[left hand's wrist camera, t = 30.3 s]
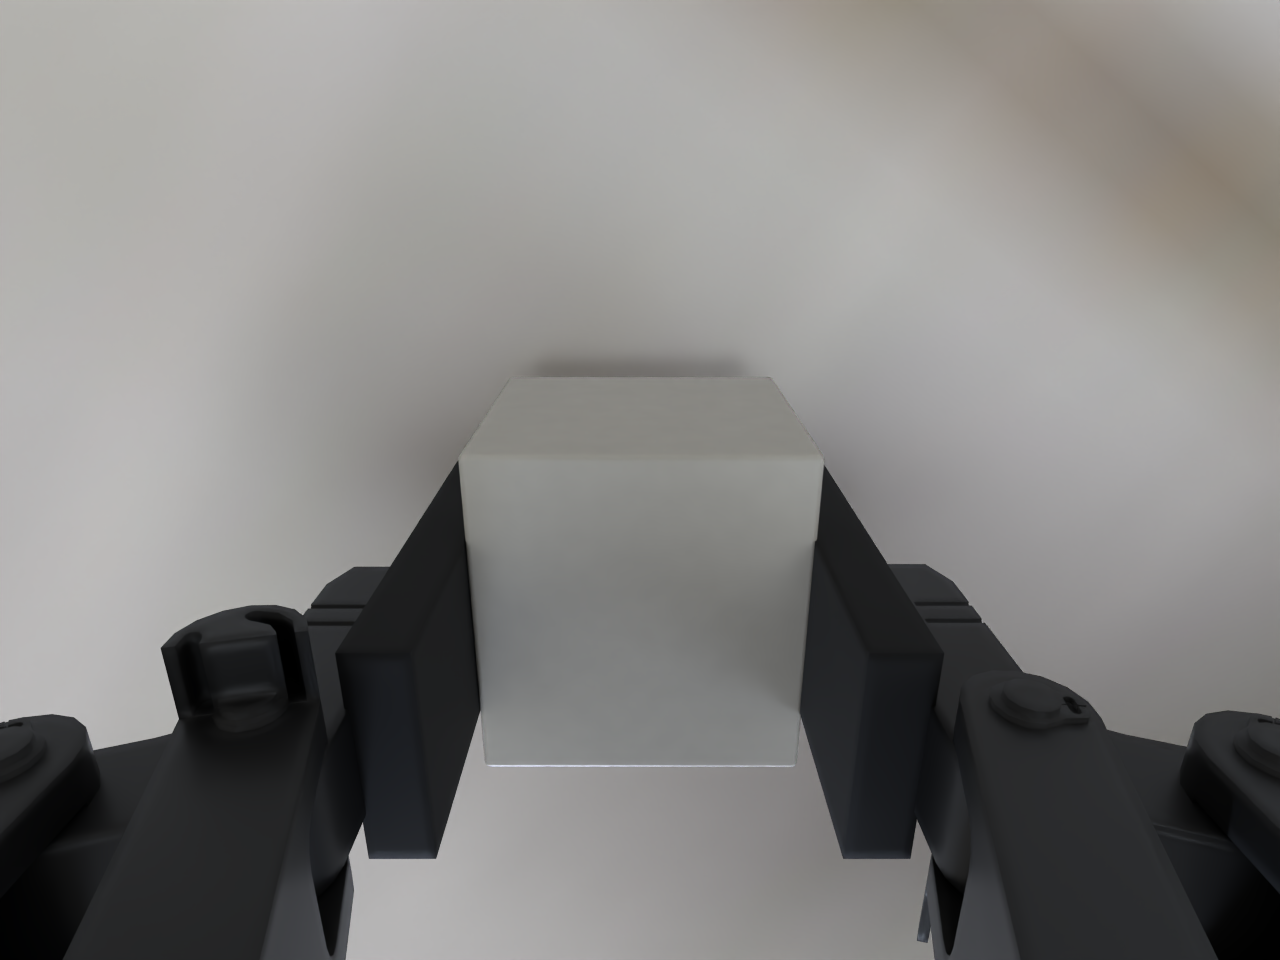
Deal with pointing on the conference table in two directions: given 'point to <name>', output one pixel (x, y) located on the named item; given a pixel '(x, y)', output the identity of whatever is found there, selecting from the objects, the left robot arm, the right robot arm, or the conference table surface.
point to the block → (640, 571)
